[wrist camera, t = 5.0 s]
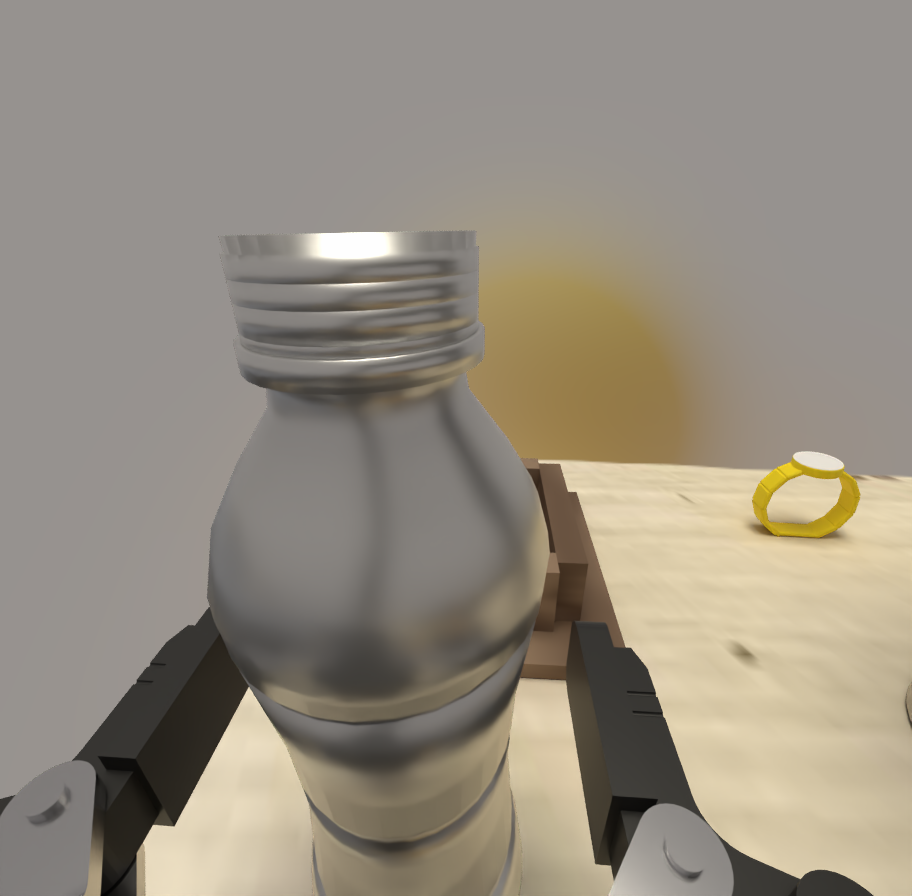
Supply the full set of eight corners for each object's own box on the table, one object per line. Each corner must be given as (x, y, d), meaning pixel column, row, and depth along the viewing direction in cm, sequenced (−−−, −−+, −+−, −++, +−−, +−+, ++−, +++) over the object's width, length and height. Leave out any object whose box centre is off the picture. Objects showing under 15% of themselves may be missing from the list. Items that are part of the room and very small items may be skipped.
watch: (758, 544, 31) (777, 471, 29) (740, 521, 34) (756, 451, 31) (853, 545, 30) (881, 469, 28) (827, 521, 33) (851, 449, 30)
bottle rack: (575, 502, 36) (581, 447, 34) (629, 683, 22) (646, 607, 19) (381, 497, 37) (375, 443, 35) (310, 665, 23) (293, 592, 21)
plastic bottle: (294, 1039, 12) (-165, 243, 3) (354, 771, 18) (244, 235, 10) (529, 1053, 12) (685, 227, 3) (510, 776, 18) (547, 229, 9)
